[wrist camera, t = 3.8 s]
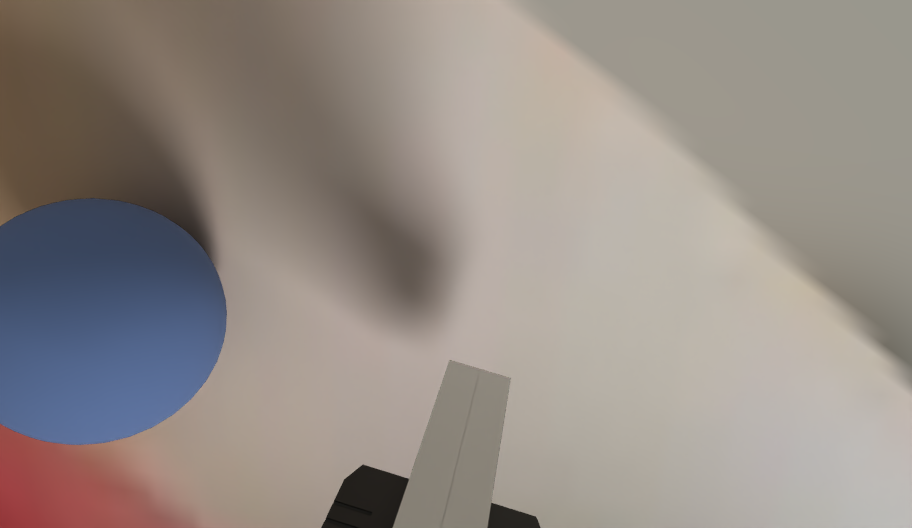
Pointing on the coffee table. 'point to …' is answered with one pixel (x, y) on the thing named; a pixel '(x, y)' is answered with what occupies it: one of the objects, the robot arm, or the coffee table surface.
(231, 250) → the coffee table surface
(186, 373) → the ball
